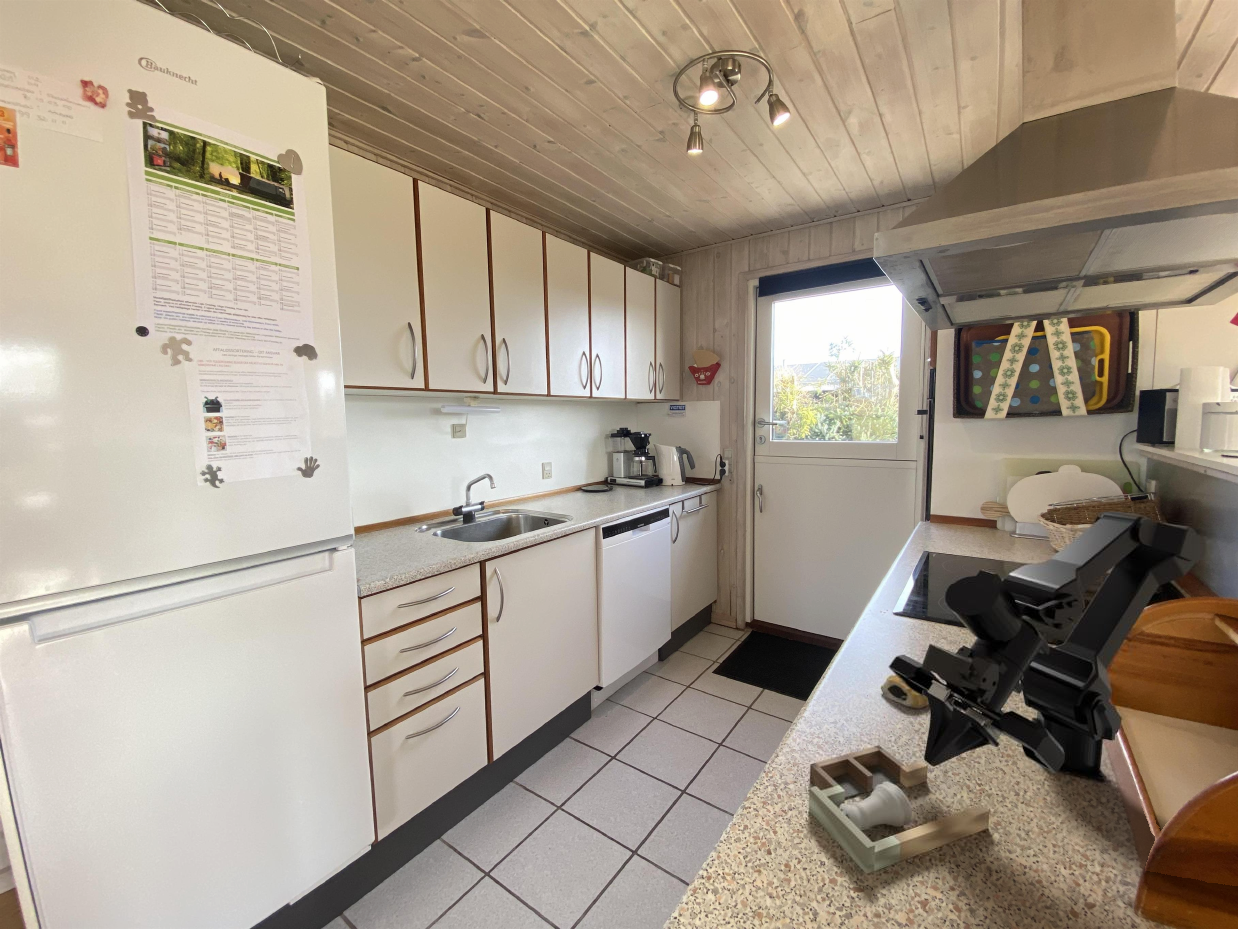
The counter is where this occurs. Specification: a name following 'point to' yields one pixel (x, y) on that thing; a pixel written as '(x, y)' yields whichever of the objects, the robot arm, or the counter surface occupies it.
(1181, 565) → the robot arm
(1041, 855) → the counter surface
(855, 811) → the rook chess piece
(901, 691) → the pastry
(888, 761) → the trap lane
